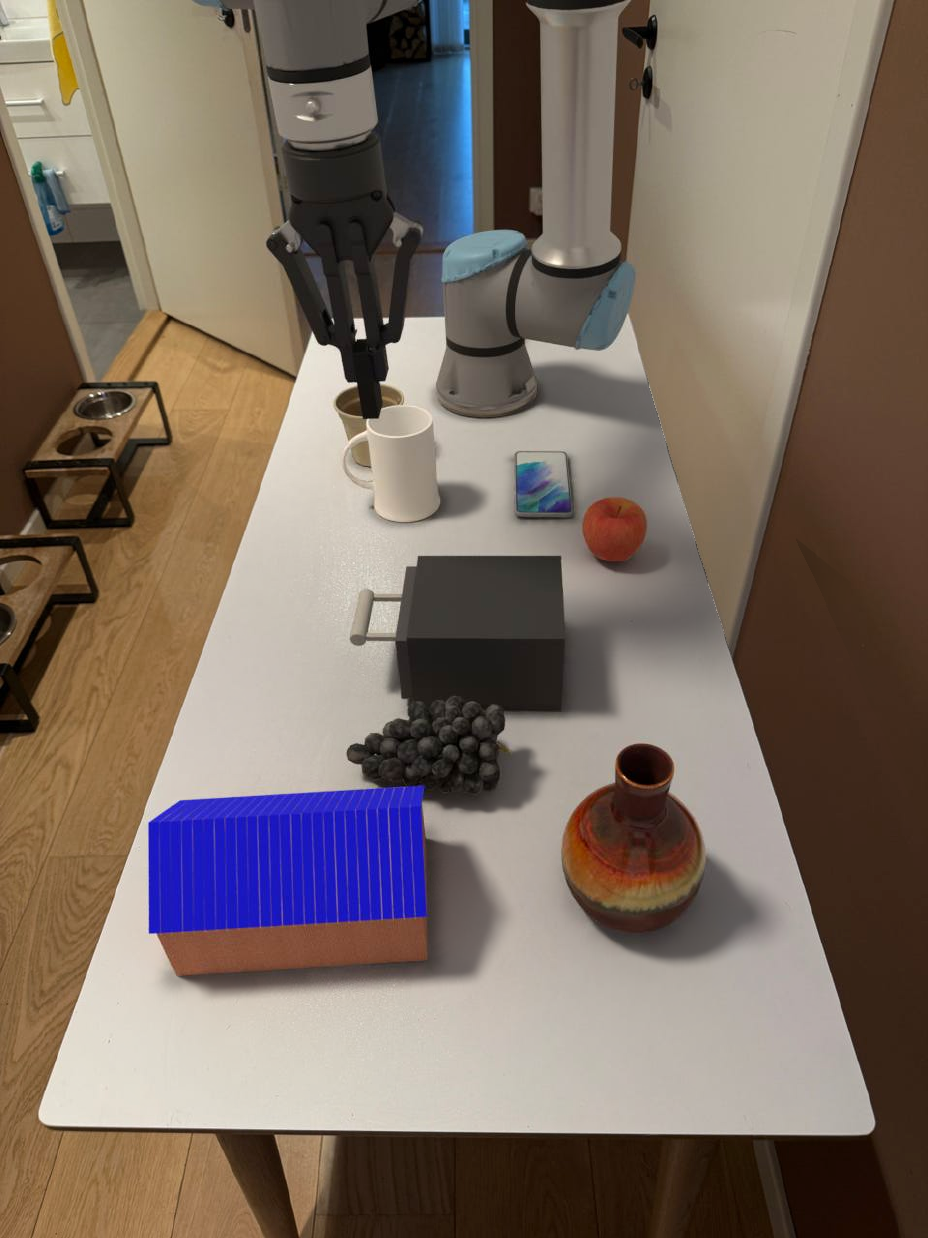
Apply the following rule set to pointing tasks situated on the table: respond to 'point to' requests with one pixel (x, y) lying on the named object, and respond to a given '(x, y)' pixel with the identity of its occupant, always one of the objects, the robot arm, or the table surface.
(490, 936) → the table surface
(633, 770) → the vase
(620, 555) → the apple
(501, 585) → the cabinet
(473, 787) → the fruit
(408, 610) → the drawer
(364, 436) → the mug
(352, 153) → the robot arm
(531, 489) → the smartphone
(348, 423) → the flower pot
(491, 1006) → the table surface
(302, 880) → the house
